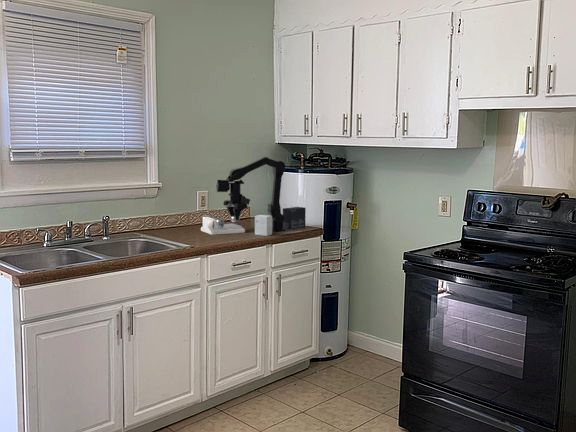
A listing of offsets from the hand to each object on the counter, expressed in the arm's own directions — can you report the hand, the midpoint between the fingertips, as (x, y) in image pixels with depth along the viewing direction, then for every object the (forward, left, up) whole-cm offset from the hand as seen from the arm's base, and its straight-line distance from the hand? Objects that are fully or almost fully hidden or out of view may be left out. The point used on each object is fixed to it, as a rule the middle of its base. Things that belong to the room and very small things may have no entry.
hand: (235, 219), depth 336 cm
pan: (+3, +3, -4) cm, 6 cm away
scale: (+3, +7, -7) cm, 10 cm away
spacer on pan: (+7, +7, -4) cm, 10 cm away
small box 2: (-1, -38, -7) cm, 39 cm away
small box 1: (-15, -10, -7) cm, 19 cm away
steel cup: (0, 0, -1) cm, 1 cm away
